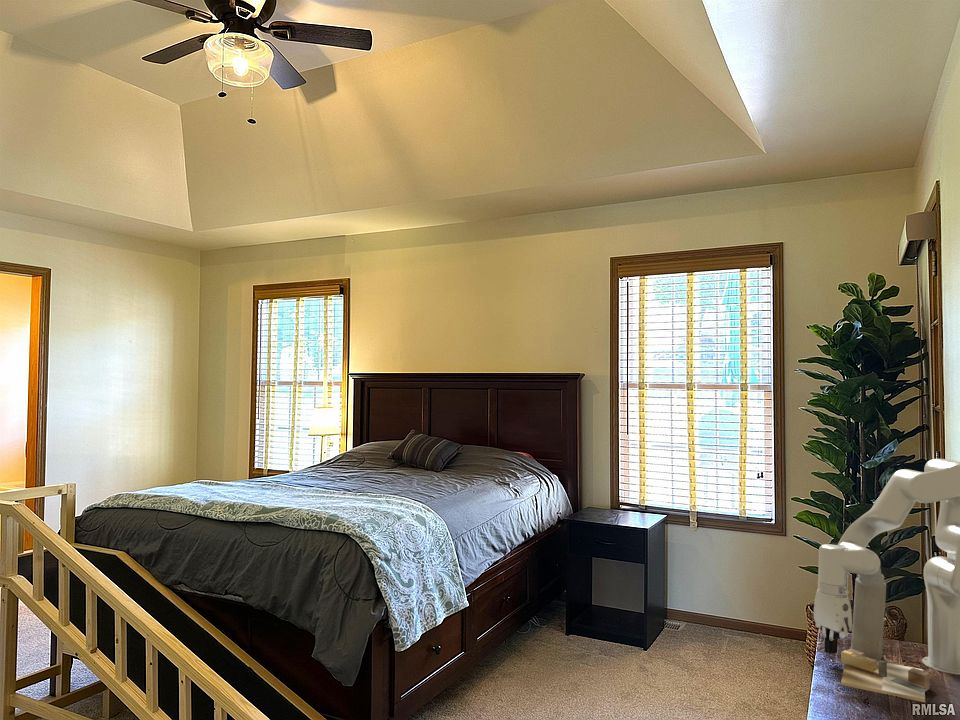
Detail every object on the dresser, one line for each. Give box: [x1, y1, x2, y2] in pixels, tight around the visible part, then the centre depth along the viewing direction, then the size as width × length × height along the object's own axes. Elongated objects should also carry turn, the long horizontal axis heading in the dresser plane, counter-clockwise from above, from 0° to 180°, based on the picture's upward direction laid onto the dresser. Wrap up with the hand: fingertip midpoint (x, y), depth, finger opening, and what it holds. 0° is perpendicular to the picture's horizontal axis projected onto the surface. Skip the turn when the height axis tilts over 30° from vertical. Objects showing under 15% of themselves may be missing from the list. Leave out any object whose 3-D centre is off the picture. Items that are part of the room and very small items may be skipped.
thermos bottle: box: [850, 563, 887, 661], centre depth 207 cm, size 8×8×28 cm
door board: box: [840, 648, 931, 703], centre depth 191 cm, size 21×20×5 cm
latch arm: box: [840, 649, 877, 672], centre depth 196 cm, size 8×2×3 cm, turn 39°
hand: (830, 652), depth 202 cm, fingers closed
